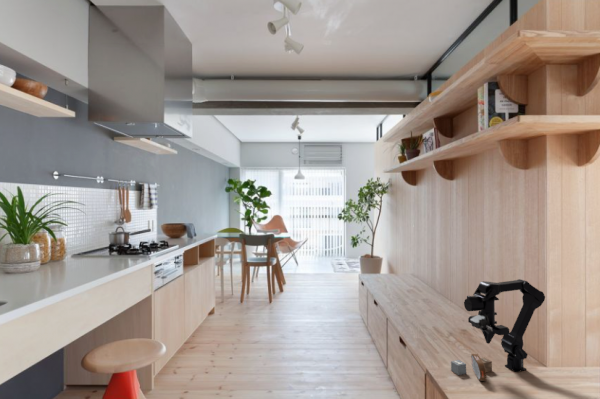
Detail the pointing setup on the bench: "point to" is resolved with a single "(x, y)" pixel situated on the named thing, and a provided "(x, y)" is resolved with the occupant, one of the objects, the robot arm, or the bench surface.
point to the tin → (478, 367)
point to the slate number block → (458, 367)
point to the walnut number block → (487, 364)
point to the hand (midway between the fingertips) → (488, 343)
